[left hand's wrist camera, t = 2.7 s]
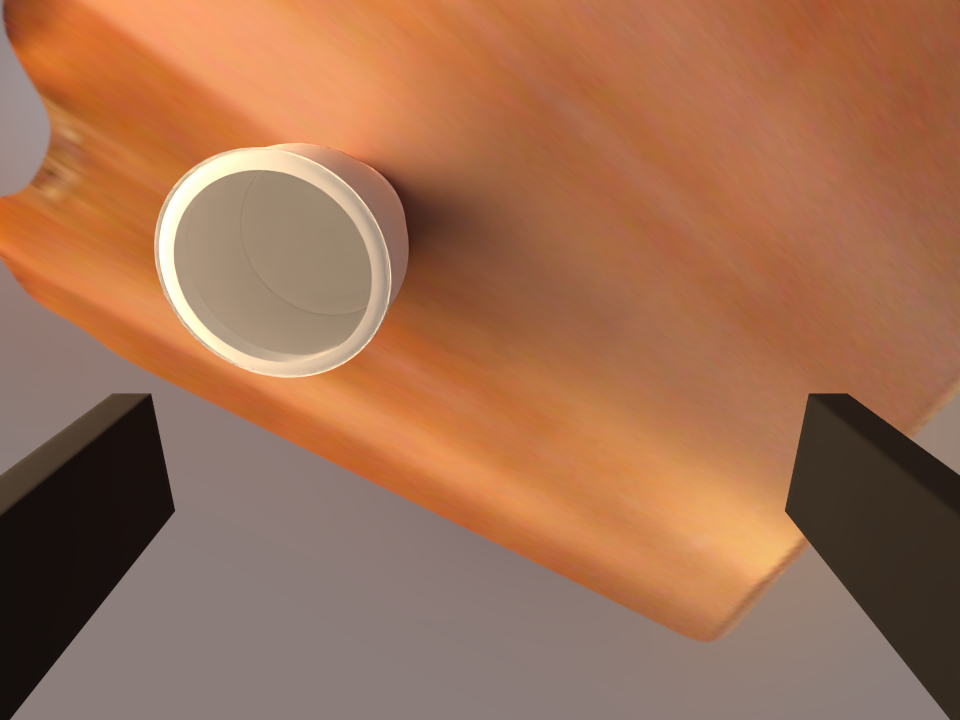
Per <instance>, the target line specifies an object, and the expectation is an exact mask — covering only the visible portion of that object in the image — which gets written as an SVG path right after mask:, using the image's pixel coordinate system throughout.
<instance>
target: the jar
mask: <svg viewBox="0 0 960 720" xmlns="http://www.w3.org/2000/svg"><path fill="white" fill-rule="evenodd" d="M154 251H155V262H156V268H157V273H158V277H159V280H160V283H161V286H162V289H163V291H164V294H165V296H166V298H167V300H168V302H169V304H170V306H171V308H172V309H173V311H174V313H175V314H176V316H177V317H178V318H179V320H180V321H181V323H182V324H183V325H184V326H185V327H186V329H187V330H188V331H189V332H190V333H191V334H192V335H193V336H194V337H195V338H196V339H197V340H198V341H199V342H200V343H201V344H202V345H204V346H205V347H206V348H207V349H209V350H210V351H211V352H213V353H214V354H216V355H217V356H219V357H221V358H222V359H224V360H226V361H228V362H229V363H231V364H233V365H236V366H238V367H240V368H243V369H245V370H248V371H251V372H255V373H258V374H263V375H268V376H274V377H304V376H311V375H315V374H319V373H323V372H326V371H328V370H331V369H333V368H336V367H338V366H340V365H342V364H343V363H345V362H347V361H348V360H350V359H351V358H352V357H354V356H355V355H356V354H357V353H359V352H360V351H361V350H362V349H363V348H364V347H365V346H366V345H367V344H368V343H369V342H370V341H371V339H372V338H373V337H374V336H375V334H376V333H377V331H378V330H379V328H380V327H381V325H382V323H383V321H384V319H385V317H386V314H387V312H388V309H389V308H390V306H391V305H392V303H393V302H394V300H395V298H396V297H397V295H398V293H399V291H400V288H401V286H402V283H403V280H404V277H405V274H406V269H407V264H408V255H409V243H408V233H407V228H406V220H405V214H404V210H403V206H402V204H401V201H400V199H399V197H398V195H397V193H396V191H395V190H394V188H393V187H392V186H391V184H390V183H389V182H388V181H387V180H386V179H385V178H384V177H383V176H382V175H381V174H380V173H379V172H377V171H376V170H375V169H373V168H372V167H370V166H368V165H366V164H364V163H362V162H360V161H358V160H357V159H355V158H353V157H351V156H349V155H347V154H345V153H343V152H340V151H338V150H335V149H332V148H329V147H325V146H320V145H315V144H306V143H288V144H279V145H274V146H269V147H259V148H242V149H235V150H230V151H226V152H223V153H220V154H217V155H215V156H212V157H210V158H208V159H206V160H204V161H202V162H201V163H199V164H197V165H196V166H194V167H193V168H192V169H190V170H189V171H188V172H187V173H186V174H185V175H184V176H183V177H182V178H181V179H180V180H179V181H178V182H177V183H176V184H175V186H174V187H173V188H172V190H171V191H170V193H169V194H168V196H167V198H166V200H165V202H164V204H163V206H162V209H161V211H160V214H159V217H158V221H157V225H156V231H155V242H154Z"/></svg>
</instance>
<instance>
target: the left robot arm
mask: <svg viewBox="0 0 960 720" xmlns="http://www.w3.org/2000/svg"><path fill="white" fill-rule="evenodd" d="M174 512H175V508H174V503H173V498H172V493H171V489H170V484H169V479H168V474H167V469H166V464H165V459H164V454H163V450H162V445H161V440H160V435H159V430H158V425H157V420H156V415H155V410H154V405H153V401H152V396H151V394H111V395H110V396H109V397H107V398H106V399H105V400H103V401H102V402H101V403H99V404H98V405H96V406H95V407H94V408H92V409H91V410H89V411H88V412H87V413H85V414H84V415H83V416H81V417H80V418H78V419H77V420H76V421H74V422H73V423H72V424H70V425H69V426H67V427H66V428H65V429H63V430H62V431H61V432H59V433H58V434H57V435H55V436H54V437H52V438H51V439H50V440H48V441H47V442H46V443H44V444H43V445H41V446H40V447H39V448H37V449H36V450H35V451H33V452H32V453H30V454H29V455H28V456H26V457H25V458H24V459H22V460H21V461H20V462H18V463H17V464H15V465H14V466H13V467H11V468H10V469H8V470H7V471H6V472H4V473H3V474H2V475H0V720H10V719H11V717H12V716H13V715H14V714H15V712H16V711H17V710H18V709H19V707H20V706H21V705H22V704H23V702H24V701H25V700H26V699H27V697H28V696H29V695H30V693H31V692H32V691H33V690H34V688H35V687H36V686H37V685H38V683H39V682H40V681H41V680H42V678H43V677H44V676H45V675H46V673H47V672H48V671H49V669H50V668H51V667H52V666H53V664H54V663H55V662H56V661H57V659H58V658H59V657H60V656H61V654H62V653H63V652H64V651H65V649H66V648H67V647H68V645H69V644H70V643H71V642H72V640H73V639H74V638H75V637H76V635H77V634H78V633H79V632H80V630H81V629H82V628H83V627H84V625H85V624H86V623H87V622H88V620H89V619H90V618H91V616H92V615H93V614H94V613H95V611H96V610H97V609H98V608H99V606H100V605H101V604H102V603H103V601H104V600H105V599H106V598H107V596H108V595H109V594H110V593H111V591H112V590H113V589H114V587H115V586H116V585H117V584H118V582H119V581H120V580H121V579H122V577H123V576H124V575H125V574H126V572H127V571H128V570H129V569H130V567H131V566H132V565H133V563H134V562H135V561H136V560H137V558H138V557H139V556H140V555H141V553H142V552H143V551H144V550H145V548H146V547H147V546H148V545H149V543H150V542H151V541H152V539H153V538H154V537H155V536H156V534H157V533H158V532H159V531H160V529H161V528H162V527H163V526H164V524H165V523H166V522H167V521H168V519H169V518H170V517H171V515H172V514H173V513H174ZM785 512H786V513H787V514H788V516H789V517H790V518H791V519H792V521H793V522H794V523H795V524H796V526H797V527H798V528H799V529H800V531H801V532H802V533H803V534H804V536H805V537H806V538H807V539H808V541H809V542H810V543H811V545H812V546H813V547H814V548H815V550H816V551H817V552H818V553H819V555H820V556H821V557H822V558H823V560H824V561H825V562H826V563H827V565H828V566H829V567H830V568H831V570H832V571H833V572H834V574H835V575H836V576H837V577H838V579H839V580H840V581H841V582H842V584H843V585H844V586H845V587H846V589H847V590H848V591H849V593H850V594H851V595H852V596H853V598H854V599H855V600H856V601H857V603H858V604H859V605H860V606H861V608H862V609H863V610H864V611H865V613H866V614H867V615H868V616H869V618H870V619H871V620H872V621H873V623H874V624H875V625H876V627H877V628H878V629H879V630H880V632H881V633H882V634H883V635H884V637H885V638H886V639H887V640H888V642H889V643H890V644H891V646H892V647H893V648H894V649H895V651H896V652H897V653H898V654H899V656H900V657H901V658H902V659H903V661H904V662H905V663H906V664H907V666H908V667H909V668H910V670H911V671H912V672H913V673H914V675H915V676H916V677H917V678H918V680H919V681H920V682H921V683H922V685H923V686H924V687H925V688H926V690H927V691H928V692H929V693H930V695H931V696H932V697H933V699H934V700H935V701H936V702H937V704H938V705H939V706H940V707H941V709H942V710H943V711H944V712H945V714H946V715H947V716H948V717H949V719H950V720H960V475H958V474H957V473H956V472H954V471H953V470H952V469H950V468H949V467H947V466H946V465H945V464H943V463H942V462H941V461H939V460H938V459H936V458H935V457H934V456H932V455H931V454H929V453H928V452H927V451H925V450H924V449H923V448H921V447H920V446H919V445H917V444H916V443H914V442H913V441H912V440H910V439H909V438H908V437H906V436H905V435H903V434H902V433H901V432H899V431H898V430H897V429H895V428H894V427H893V426H891V425H890V424H888V423H887V422H886V421H884V420H883V419H882V418H880V417H879V416H877V415H876V414H875V413H873V412H872V411H871V410H869V409H868V408H866V407H865V406H864V405H862V404H861V403H860V402H858V401H857V400H855V399H854V398H853V397H851V396H850V395H849V394H809V396H808V401H807V405H806V410H805V415H804V420H803V425H802V430H801V435H800V440H799V445H798V449H797V454H796V459H795V464H794V469H793V474H792V479H791V484H790V489H789V493H788V498H787V503H786V508H785Z"/></svg>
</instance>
